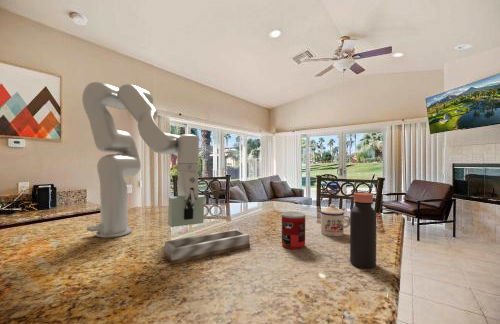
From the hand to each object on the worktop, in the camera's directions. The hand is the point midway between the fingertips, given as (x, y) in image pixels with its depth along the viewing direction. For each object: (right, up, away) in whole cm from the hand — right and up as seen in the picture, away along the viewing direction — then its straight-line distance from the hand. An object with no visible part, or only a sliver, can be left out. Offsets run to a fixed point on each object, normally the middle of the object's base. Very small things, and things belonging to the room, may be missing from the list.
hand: (186, 217), depth 92 cm
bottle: (+56, -9, -21) cm, 60 cm away
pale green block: (0, -2, 0) cm, 2 cm away
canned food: (+38, -9, -6) cm, 40 cm away
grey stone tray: (+10, -8, -11) cm, 17 cm away
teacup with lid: (+58, -8, +8) cm, 59 cm away
